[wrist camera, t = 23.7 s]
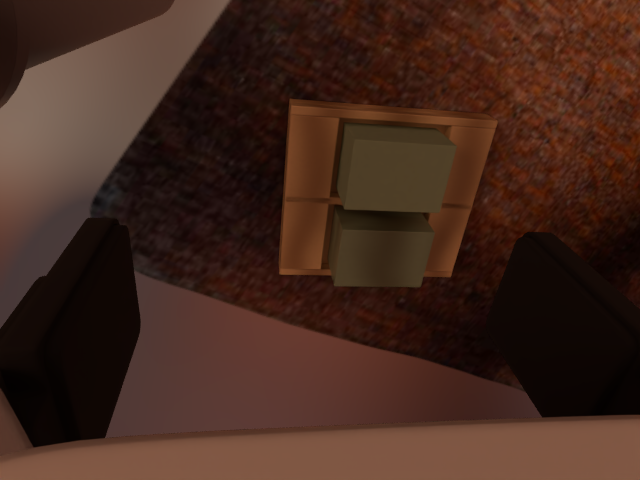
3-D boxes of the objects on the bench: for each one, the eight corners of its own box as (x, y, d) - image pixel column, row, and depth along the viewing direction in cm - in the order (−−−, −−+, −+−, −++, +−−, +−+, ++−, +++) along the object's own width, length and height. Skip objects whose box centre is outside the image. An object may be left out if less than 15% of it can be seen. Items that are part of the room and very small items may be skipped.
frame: (278, 261, 38) (281, 297, 34) (289, 98, 31) (293, 117, 27) (442, 264, 40) (464, 298, 36) (486, 113, 33) (519, 133, 29)
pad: (335, 186, 34) (344, 209, 31) (343, 121, 31) (354, 139, 28) (421, 190, 35) (439, 213, 32) (436, 128, 33) (457, 146, 29)
